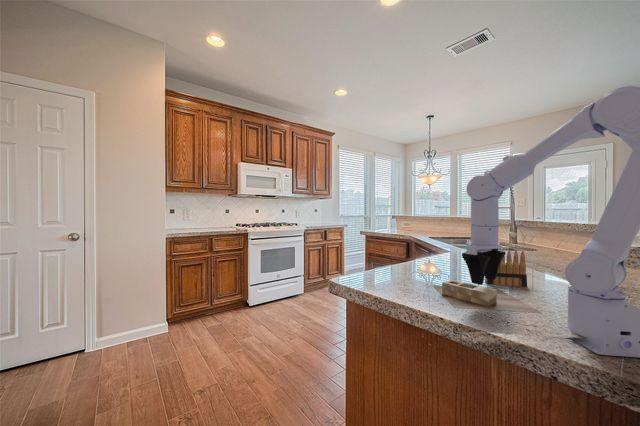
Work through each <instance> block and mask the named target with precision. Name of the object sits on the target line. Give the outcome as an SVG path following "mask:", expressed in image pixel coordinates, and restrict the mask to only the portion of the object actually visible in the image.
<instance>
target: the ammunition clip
mask: <svg viewBox="0 0 640 426" xmlns="http://www.w3.org/2000/svg"><path fill="white" fill-rule="evenodd" d="M501 251H504V250H501ZM518 253H519V252H518V251H517V250H515V251H514V253H513V259H512V253H511V251H510V250H508V251H507V253H506V254H507V255H505V256H504V257H503V259H502V261H501V263H500V265H499V269H498V272H497V276H496V279H495V280H492V279H487V278H485V277H484V283H485V284H487V285H496V286H500V285H501V286H511V287H512V286H514V287H515V286H516V287H523V288H526V287H527V288H528V276H527V264H526V255H525V252H524V250H523V251H521V253H520V258H519V254H518Z"/></svg>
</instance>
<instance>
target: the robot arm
mask: <svg viewBox="0 0 640 426" xmlns="http://www.w3.org/2000/svg"><path fill="white" fill-rule="evenodd" d="M605 131H608V132H609V133H611V134H613V135H615V136H617V137H619V138H620V139H622V141H624V142H625V143H626V144H627V146H628V147H629V148H630V149H631V150H632V151H631V153H630V154H629V155H630V156H629V158H628V160H627V162H626V164H625V166H624V168H623V169H622V170H623V171H622V172H621V175H620V177H619V178H618V180H617V183H616V185H615V187H614V189H613V191H612V193H611V196H610V198H609V200H608V202H607V204H606V206H605V208H604V209H603V212H602V215H601V217H600V219H599V222H598V223H597V225H596V227H595V229H594V232H593V233H592V236H591V237H590V239H589V241H587V243H586V244H585V246H584V247H583V248H582V250H581V252H580V254H579V255H578V257H576V258H575V259H574V260H572V261H570V262H569V263H568V264H566V267H565V269H564V276H565V278H566V281H567V282H568V283H569V285H567V287H568V288H567V329H568V330H569V331H571V332H572V333H575V334H577V335H579V336H581V337H574V336H573V337H572V336H570V337H568V338H569V339H571V340H573V341H574V342H576V343H577V344H580V345H581V346H583V347H584V348H586V349H587V350H589V351H591V352H593V353H594V354H597V355H599V356H601V355H602V356H616V357H630V358H640V308H639V307H637V306H636V305H633V304H631V303H630V302H629V301H628V299H627V298H626V297H627V295H626V292H625V291H624V290H623V289H622V288H621V287H620V286H619V285H621V284H622V283H623V282H625V280H626V278H627V276H628V275H627V268H626V262H627V259H628V258H629V254H630V250H631V248H632V245H633V242H634V241H635V239H636V237H637V235H638V233H639V232H640V86H635V85H633V86H632V85H630V86H629V85H628V86H622V87H618V88H615V89H612V90H611V91H608V92H607V93H605V94H604V95H602V96H601V97H600V98H599V99H598V100H597V101H596V102H594V101H593V102H592V103H590V104H588V105H586V106H584V107H583V108H582V109H581V110H580V111H579V112H577V114H575V115H574V116H573V117H572V118H571V119H569V120H568V121H566V122H565V123H564V124H562V125H561V126H559V128H557V129H555V130H554V131H553V132H552V133H550V134H549V135H547V136H546V137H545V138H543V139H542V140H541V141H539V142H538V143H537V144H535V145H534V146H532V147H531V148H530V149H529V150H527V151H526V152H525V153H514V154H512V155H506V156H504V157H503V158H502V162H500V163H499V164H497V165H496V166H495V167H493V168H492V169H490V170H486V171H485V172H484V173H483V174H481V175H475V176H473V177H472V178H471V179H470V180H469V181H468V183H467V185H466V193H467V195H468V196H469V198H470V241H469V242H468V241H467V242H465V246H466V251H465V252H462V253H461V257H462V258H463V261H464V262H465V264H466V266H467V269H468V273H469V277H470V279H471V284H473V285H478V286H482V285H483V284H484V283H485V278H487V279H492V280H495V279H496V276H497V272H498V269H499V265H500V263H501V261H502V259H503V257H504V256H505V257H506V254H507V253H506V251H504V250H503V251H502V250H501V242H500V241H499V217H500V216H499V214H500V213H499V210H500V209H499V199H500V198H501V197H502V195H503V194H504V192H505V191H506V190H509V189H511V188H512V187H513V186H515V185H517V184H519V183H520V182H521V181H523V180H525V179H527V178H528V177H530V176H532V175H533V174H534V172H535V168H536V166H537V165H538V164H540V163H542V162H544V161H546V160H547V159H549V158H551V157H552V156H554V155H557V154H558V153H560V152H561V151H563V150H565V149H567V148H569V147H570V146H572V145H573V144H576V143H577V142H579V141H581V140H588V139H598V138H605V137H606V135H605V133H604V132H605Z"/></svg>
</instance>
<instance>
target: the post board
mask: <svg viewBox="0 0 640 426" xmlns="http://www.w3.org/2000/svg"><path fill="white" fill-rule="evenodd" d="M472 284H473V283H469V282H464V286H463V287H467V288H471V289H472ZM432 287H433V288H434V289H435V290H436V292H438V293H439V294H440V295H441V296H442V297H443V298H444V299H445V300H446V301H447V302H448V303H449V305H451V306H452V307H453V308H455V309H469V310H470V309H471V310H484V311H485V310H487V311H503V312H505V311H506V312H518V313H519V312H521V313H537V314H539V313H540V314H541V313H542V311H540V310H538V309H536V308H535V307H533V306H531V305H529V304H527V303H525V302H523V301H521V300H520V299H517V298H516V297H514V296H512V295H510V294H509V293H506V292H505V291H503V290H502V289H499V288H497V287H491V288H492V289H496V290H497V302H495V303H493V304H491V305H490V306H486V305H482V304H478V303H474V302H471V301H467V300H463V299H460V298H456V297H452V296H448V295H445V294H442V285H433V284H432Z"/></svg>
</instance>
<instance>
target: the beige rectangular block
mask: <svg viewBox="0 0 640 426" xmlns="http://www.w3.org/2000/svg"><path fill="white" fill-rule="evenodd" d="M464 283H465V282H462V281H458V280H454V279H450V280H447V281H444V282H442V285H441V286H442V294H445V295H448V296H452V297H456V298H460V299H463V300H467V301H471V302H474V303H478V304H482V305H486V306H490V305H491V304H493V303H495V302H497V290H496V289H492V288H493V287H486V286H482V285H479V284H474V283H471V284H472V289H471V288H467V287H463V286H464Z"/></svg>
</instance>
